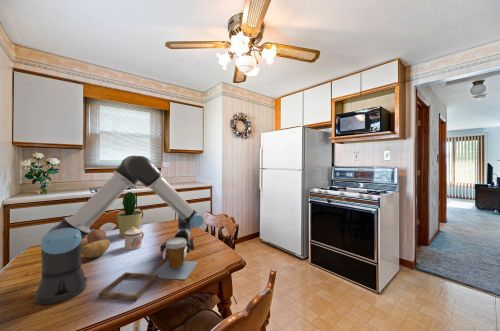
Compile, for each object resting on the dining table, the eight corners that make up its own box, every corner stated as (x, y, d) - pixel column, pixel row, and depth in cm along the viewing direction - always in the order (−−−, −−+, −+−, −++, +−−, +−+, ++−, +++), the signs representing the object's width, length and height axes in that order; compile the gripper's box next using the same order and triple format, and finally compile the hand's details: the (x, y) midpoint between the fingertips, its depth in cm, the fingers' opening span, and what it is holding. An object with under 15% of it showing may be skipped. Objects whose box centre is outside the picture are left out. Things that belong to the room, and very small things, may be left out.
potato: (115, 252, 120) (115, 238, 120) (89, 263, 107) (89, 247, 106) (102, 249, 123) (102, 235, 123) (75, 260, 110) (75, 244, 110)
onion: (90, 248, 132) (85, 233, 133) (108, 241, 137) (103, 226, 138) (89, 248, 124) (83, 231, 125) (107, 240, 129) (102, 224, 130)
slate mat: (150, 277, 95) (150, 276, 95) (168, 260, 111) (168, 259, 111) (185, 280, 93) (185, 279, 93) (198, 262, 109) (198, 261, 109)
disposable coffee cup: (190, 264, 104) (191, 239, 103) (174, 273, 95) (174, 246, 95) (177, 259, 109) (177, 235, 108) (161, 267, 101) (161, 241, 100)
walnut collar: (98, 297, 81) (98, 293, 81) (125, 276, 96) (125, 272, 96) (136, 301, 79) (136, 296, 79) (157, 278, 94) (157, 274, 94)
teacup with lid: (132, 251, 121) (132, 230, 121) (120, 248, 124) (120, 228, 124) (149, 243, 133) (149, 224, 132) (137, 241, 136) (137, 223, 135)
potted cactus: (146, 234, 149) (146, 191, 148) (121, 240, 137) (121, 193, 136) (137, 229, 159) (137, 188, 158) (113, 234, 147) (113, 190, 147)
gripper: (201, 242, 121) (198, 261, 99) (161, 244, 118) (149, 264, 96) (201, 229, 121) (198, 245, 99) (162, 231, 118) (149, 248, 95)
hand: (174, 255), depth 97 cm, fingers closed on disposable coffee cup, 8 cm apart
